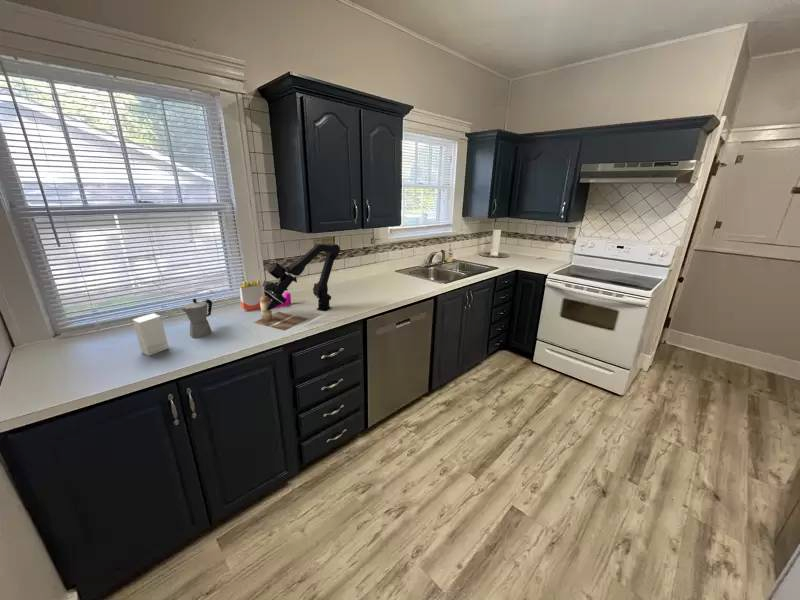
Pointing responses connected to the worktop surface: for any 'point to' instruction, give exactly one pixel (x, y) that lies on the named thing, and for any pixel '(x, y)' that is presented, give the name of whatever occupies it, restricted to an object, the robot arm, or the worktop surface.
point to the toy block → (288, 300)
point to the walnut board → (282, 321)
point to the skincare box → (150, 334)
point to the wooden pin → (265, 309)
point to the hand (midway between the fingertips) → (264, 307)
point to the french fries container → (250, 295)
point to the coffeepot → (198, 318)
